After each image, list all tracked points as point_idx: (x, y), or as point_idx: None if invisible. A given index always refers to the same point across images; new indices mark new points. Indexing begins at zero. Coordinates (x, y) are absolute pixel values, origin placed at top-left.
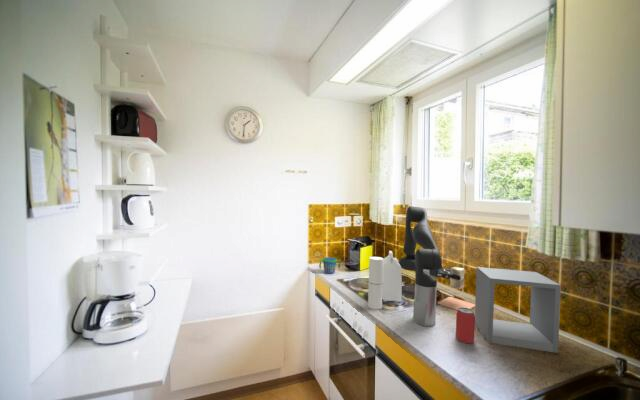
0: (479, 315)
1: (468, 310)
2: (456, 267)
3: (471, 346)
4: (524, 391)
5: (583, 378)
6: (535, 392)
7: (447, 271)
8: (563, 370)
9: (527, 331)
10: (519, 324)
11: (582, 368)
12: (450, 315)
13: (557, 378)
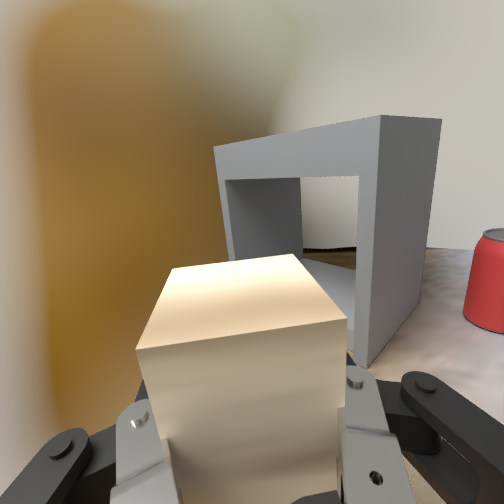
0: (393, 300)
1: (498, 237)
2: (195, 312)
3: None
4: (452, 250)
5: (334, 250)
6: (435, 248)
7: (378, 462)
8: (343, 256)
9: None
10: None
11: (309, 255)
12: None
13: None
